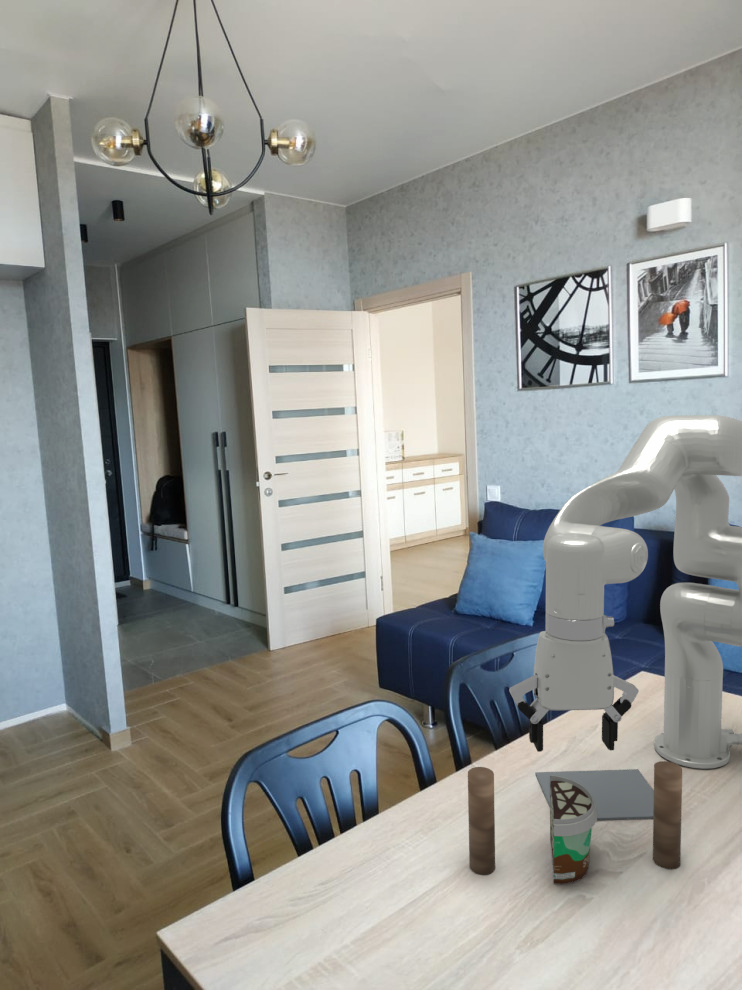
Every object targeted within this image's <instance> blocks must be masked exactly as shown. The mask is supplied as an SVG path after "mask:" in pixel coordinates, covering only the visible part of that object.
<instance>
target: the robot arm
mask: <svg viewBox="0 0 742 990" xmlns="http://www.w3.org/2000/svg"><path fill="white" fill-rule="evenodd" d="M719 476H726V477H727V476H729V477H742V420H740V419H737V418H735V417H730V416H726V415H720V414H719V415H717V414H715V415H714V414H708V415H707V414H702V415H701V414H699V415H697V414H696V415H695V414H694V415H691V414H690V415H687V414H686V415H682V414H681V415H664V416H660V417H657V418H655V419H653V420H651V421H650V422H649V423H648V424H646V425H645V427H644V428H643V430H642V431H641V433H640V434H639V436H638V438H637V439H636V441H635V442H634V444H633V446H632V448H630V451H629V452H628V454H627V455H626V457H625V458H624V460H623V461H622V463H621V465H620V466H619V468H618V469H617V470H616V472H614V473H611V474H610V475H607V476H605V477H603V478H602V479H599V480H598V481H596V482H594V483H592V484H591V485H589V486H586V487H585V488H583V489H581V490H580V491H578V492H577V493H575V494H573V496H571V497H570V498H569V499H568V500H566V501H565V503H564V504H563V506H561V508H560V510H558V513H557V514H556V515H555V517H554V518H553V520H552V522H551V523H550V525H549V527H548V528H547V531H546V533H545V535H544V539H543V544H542V555H543V559H544V562H545V630H543V631H540V632H539V634H538V638H537V641H536V642H537V644H536V647H535V648H536V649H535V657H534V666H533V675H532V676H530V677H528V678H525V679H523V681H520V682H518V683H517V684H514V685H512V686H511V687H509V690H508V691H509V693H510V695H511V697H512V699H513V701H514V702H515V705H516V707H517V708H518V710H519V712H521V713H522V714H523V715H524V716H525V717H526V718H527V719H528V723H529V724H528V737H529V738H528V739H529V742H530V744H533V745H534V748H535V749H536V751H537V752H540V753H541V752H542V751H544V723H543V722H542V719H543V718H544V717H545V715H546V714H547V713H549V711H591V710H592V711H595V710H596V711H597V710H603V711H605V712H603V714H602V715H601V742H603V744H604V745H605V747H606V748H607V750H609V751H614V750H615V742H618V737H619V735H618V733H619V732H618V729H619V726H618V725H619V722H621V721H622V720H623V719H622V717H623V716H624V715H625V714H626V713H627V712H629V710H630V709H631V708H632V703H634V702H635V699H636V697H637V695H638V693H639V689H638V688H637V686H636V685H634V684H633V683H630V682H628V681H627V680H624V679H622V678H620V676H619V677H618V676H616V675H614V668H613V667H614V666H613V658H612V652H611V646H610V641H609V638H608V635H607V634H606V628H609V627H614V626H615V619H614V617H613V616H609V615H605V611H604V609H605V585H611V584H623V583H628V582H631V581H633V580H635V579H637V577H639V576H640V575H641V574H642V573H643V571H644V569H645V568H646V565H647V563H648V560H649V551H648V545H647V543H646V542H645V540H644V538H643V537H642V536H641V535H640V534H639V533H637V532H635V531H632V530H631V529H626V528H621V527H620V528H619V527H613V526H612V527H610V526H603V525H604V524H606V523H610V522H614V521H616V520H623V519H626V518H631V517H632V518H633V517H636V516H640V515H643V514H648V513H650V512H654V511H657V510H659V509H661V508H662V507H663V506H665V505H666V504H667V503H668V501H669V500H670V498H671V496H672V494H673V492H674V494H675V519H674V520H675V521H674V531H673V532H674V535H673V536H674V537H673V562H674V565H675V567H676V569H677V570H678V571H680V572H681V573H684V574H686V575H691V576H695V577H700V578H706V579H713V580H720V581H727V582H734V583H736V585H737V587H738V589H733V588H727V587H720V586H717V585H710V584H703V583H695V582H676V583H673V584H671V585H670V586H668V587H666V589H665V590H664V591H663V593H662V595H661V598H660V602H659V603H660V604H659V606H660V607H659V609H660V618H661V622H662V628H663V636H664V656H665V657H664V694H663V696H664V700H663V701H664V703H663V704H664V705H663V707H664V708H663V732H662V733H659V734H658V735H657V736H656V737H655V739H654V744H653V745H654V746H653V747H654V749H655V751H656V753H658V755H659V756H661V757H662V758H664V759H665V760H667V761H668V762H673V763H675V764H678V765H679V766H683V767H687V768H692V769H702V770H703V769H704V770H705V769H706V770H709V769H710V770H711V769H717V768H721V767H723V766H725V765H727V764H728V763H729V762H730V759H731V753H730V747H732V745H737V746H738V745H739V746H742V733H735V731H734V729H733V728H725V729H722V719H723V718H722V715H723V713H722V710H723V708H722V707H723V682H724V681H723V679H724V678H723V677H724V676H723V675H724V663H723V659H722V656H721V654H720V651H719V650H718V648H717V646H716V645H715V642H717V643H719V644H724V645H730V646H734V647H741V648H742V526H737V525H736V526H735V525H730V523H729V512H730V510H729V509H730V496H729V493H728V490H727V489H726V486H725V485H724V483H723V482H722V480H720V477H719ZM615 688H616V689H618V690H620V691H622V695H621V696H620V697H619V698H617V700H616V701H615V702H614V700H615V699H614V698H615ZM531 691H532V693H533V695H534V697H535V698H534V700H533V701H532V702H531V703H530V704H529V703H528V702H527V701H526V700H525V699H524V698H523V697H524V695H525V694H527V693H529V692H531Z"/></svg>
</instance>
